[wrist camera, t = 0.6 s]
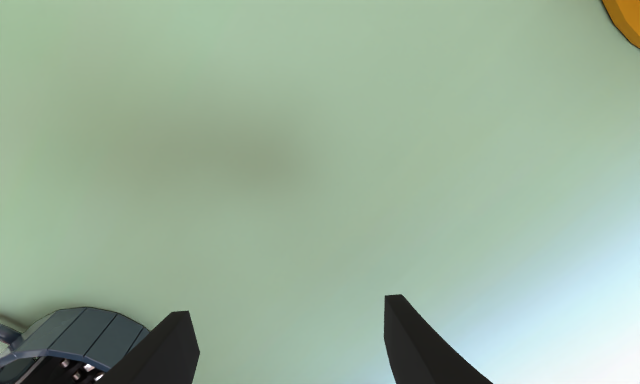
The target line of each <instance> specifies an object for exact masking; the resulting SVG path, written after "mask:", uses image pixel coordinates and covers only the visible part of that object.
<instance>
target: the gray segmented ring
mask: <svg viewBox="0 0 640 384" xmlns="http://www.w3.org/2000/svg"><path fill="white" fill-rule="evenodd" d="M149 333H150V332H149V331H148V330H147V329H146V328H145V327H144V328H143V326H142V325H140V324H138V323H136V322H134V321H132V320H131V319H129V318H127V317H125V316H123V315H121V314H118V315H117V313H116V312H111V311H106V310H101V309H95V308H90V307H88V308H87V307H83V308H73V309H63V310H59V311H55V312H53V313H51V314H49V315H47V316H45V317H44V318H42V319H40V320H38V321H36V322H35V323H34V324H33V325H32V326H30V327H29V328H28V329H27V330H26V331H25V332H24V333H21V332H19V331H16V330H14V329H12V328H10V327H8V326H5V325H3V324H1V323H0V341H1V342H4V343H6V344H8V345H9V346H8V347H7V348H6V349H5V350H4V351H3V352H1V353H0V384H13V383H14V382H15V381H16V380H17V379H18V378H19V377H20V376H21V375H22V374H23V373H24V372H25V371H26V370H27V369H28V368H29V367H30V366H31V365H32V364H33V363H34V360H33V357H41V356H53V357H59V358H65V359H71V360H76V361H82V362H84V363H86V364H89V365H91V366H93V367H95V368H97V369H100V370H102V371H104V372H108V371H109V370H110V369H111V368H112V367H113V366H114V365H116V364H117V363H118V362H119V361H120V360H121V359H122V358H123V357H124V356H125V355H127V354H128V353H129V352H130V351H131V350H132V349H133V348H134V347H135V346H136V345H137V344H138V343H139V342H140V341H142V340H143V339H144V338H145V337H146V336H147V335H148V334H149Z"/></svg>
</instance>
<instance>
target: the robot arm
mask: <svg viewBox="0 0 640 384" xmlns="http://www.w3.org/2000/svg"><path fill="white" fill-rule="evenodd" d="M384 341H385V345H386V349H387V354H388V358H389V362H390V366H391V369H392V372H393V375H394V378H395V381H396V384H493V383H492V382H491V381H489V380H488V379H487V378H486V377H484V376H483V375H482V374H481V373H480V372H478V371H477V370H476V369H475V368H474V367H473V366H471V365H470V364H469V363H468V362H467V361H466V360H465V359H464V358H463V357H461V356H460V355H459V354H458V353H457V352H456V351H455V350H454V349H453V348H452V347H451V346H450V345H449V344H448V343H447V342H446V341H445V340H444V339H443V338H442V337H441V336H440V335H439V334H438V333H437V332H436V331H435V330H434V329H433V328H432V327H431V326H430V325H429V324H428V323H427V322H426V321H425V320H424V319H423V318H422V317H421V315H420V314H419V313H418V312H417V311H416V310H415V309H414V308H413V307H412V305H411V304H410V303H409V302H408V301H407V300H406V298H405V297H404V296H403V295H401V294H399V295H386V296H385V311H384ZM199 355H200V351H199V347H198V344H197V340H196V336H195V332H194V329H193V325H192V321H191V317H190V314H189V311H178V312H171V313H170V314H169V315H168V316H167V317H166V318H165V319H164V320H163V321H161V322H160V323H159V324H158V325H157V326H156V327H155V328H154V329H153V330H152V331H151V332H150V333H149V334H148V335H147V336H146V337H145V338H144V339H143V340H142V341H140V342H139V343H138V344H137V345H136V346H135V347H134V348H133V349H132V350H131V351H130V352H129V353H128V354H127V355H125V356H124V357H123V358H122V359H121V360H120V361H119V362H118V363H117V364H116V365H114V366H113V367H112V368H111V369H110V370H109V371H108V372H106V373H105V374H104V375H103V376H102V377H101V378H100V379H98V380H97V381H96V382H95V383H94V384H192V381H193V378H194V374H195V370H196V366H197V362H198V358H199Z"/></svg>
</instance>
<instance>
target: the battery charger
mask: <svg viewBox="0 0 640 384" xmlns="http://www.w3.org/2000/svg"><path fill="white" fill-rule="evenodd" d="M105 373H106V372H104V371H102V370H100V369H97V368H95V367H93V366H91V365H89V364H86V363H84V362H82V361H76V360H71V359H65V358H59V357H53V356H41V357H39V358H38V359H37V360H36V361H35V362H34V363H33V364H32V365H31V366H30V367H29V368H28V369H27V370H26V371H25V372H24V373H23V374H22V375H21V376H20V377H19V378H18V379H17V380H16V381H15V382H14V383H13V384H94V383H95V382H96V381H97V380H98V379H100V378H101V377H102V376H103V375H104V374H105Z"/></svg>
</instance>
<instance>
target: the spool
mask: <svg viewBox="0 0 640 384" xmlns="http://www.w3.org/2000/svg"><path fill="white" fill-rule="evenodd" d="M602 1H603V3H604V5H605V7H606V9H607V11H608V13H609V15H610V17H611V19H612V21H613V23H614V24H615V25H616V27H617V28H618V29H619V30H620V31H621V32H622V33H623V34H624V35H625V37H626V38H627V39H628V40H629V41H630V42H631V43H632V44H634V45H635V46H637V47H638V48H640V0H602Z"/></svg>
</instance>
